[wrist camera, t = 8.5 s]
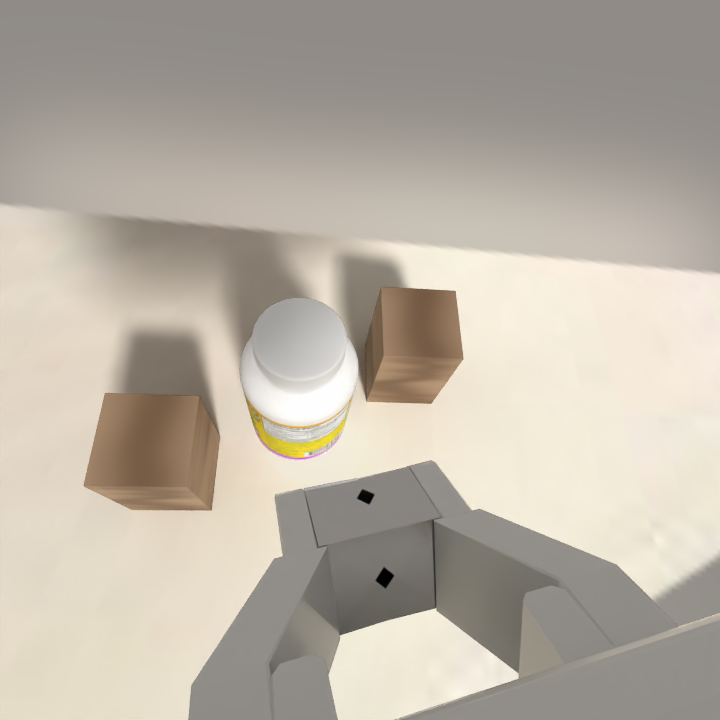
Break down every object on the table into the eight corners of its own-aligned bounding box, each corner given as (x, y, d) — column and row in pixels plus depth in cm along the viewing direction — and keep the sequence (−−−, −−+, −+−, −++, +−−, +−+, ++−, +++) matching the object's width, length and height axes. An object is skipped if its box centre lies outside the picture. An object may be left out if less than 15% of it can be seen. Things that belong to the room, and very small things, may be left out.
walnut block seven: (366, 401, 36) (383, 355, 29) (365, 341, 39) (381, 284, 31) (431, 403, 37) (463, 358, 30) (426, 344, 39) (455, 289, 32)
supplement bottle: (269, 367, 37) (256, 265, 25) (353, 388, 37) (379, 296, 25) (240, 451, 34) (211, 379, 22) (332, 474, 34) (350, 414, 22)
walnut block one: (132, 510, 31) (83, 485, 24) (146, 433, 33) (105, 390, 26) (211, 510, 32) (186, 486, 25) (220, 435, 34) (199, 393, 27)
